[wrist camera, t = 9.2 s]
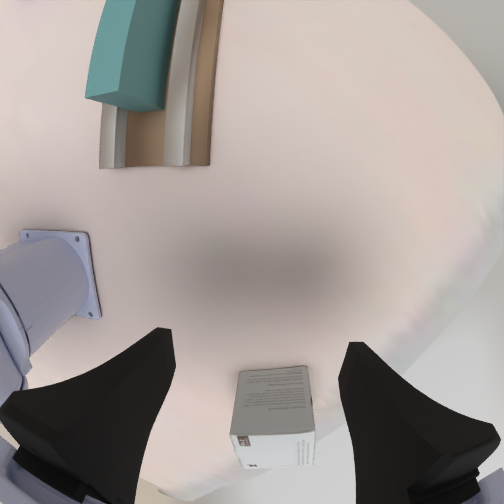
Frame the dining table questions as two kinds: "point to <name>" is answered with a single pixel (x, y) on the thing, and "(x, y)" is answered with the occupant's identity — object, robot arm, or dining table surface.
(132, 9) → the door panel
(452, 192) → the dining table surface
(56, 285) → the robot arm
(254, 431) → the skincare box
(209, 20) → the door track
